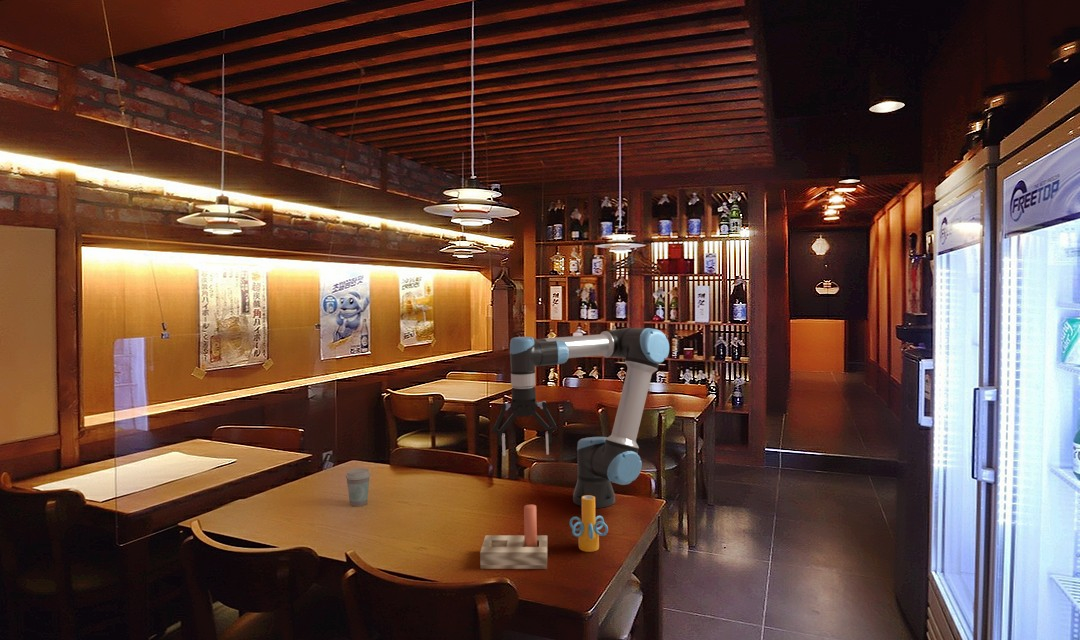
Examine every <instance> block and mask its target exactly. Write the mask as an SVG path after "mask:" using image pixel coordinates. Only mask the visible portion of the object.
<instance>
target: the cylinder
mask: <svg viewBox="0 0 1080 640" xmlns="http://www.w3.org/2000/svg"><path fill="white" fill-rule="evenodd" d="M598 519H600V520H599V521H598ZM604 519H605V518H604V517H603V516H602V515H597V516H596V508H595V497H594V496H591V495H586V496H582V506H581V518H580V517H578V516H572V517H571V518H570V519H569V527H570V528H571V533H572V535H573V536H574V537H576V538H578V550H580V551H582V552H586V553H593V552H596V551H598V550H599V548H600V536H601V537H604V536H606V535H607V534H608V532H609V526H608V524H606V523H605V520H604ZM574 520H577V522H575V523H574V524H573V522H574ZM578 525H579V527H578V528H576V527H577V526H578ZM598 525H599V526H598ZM603 527H604V528H605V529H604V532H600V530H601V529H603ZM577 532H579V533H577Z"/></svg>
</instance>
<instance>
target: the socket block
mask: <svg viewBox="0 0 1080 640" xmlns="http://www.w3.org/2000/svg"><path fill="white" fill-rule="evenodd" d="M484 536H485V537H484V539H483V543H482V546H481V549H480V550H479V554H480V555H479V557H480V559H479V561H480V562H479V563H480V570H481V569H482V570H485V569H489V570H490V569H491V570H496V569H498V570H499V569H500V570H501V569H503V570H507V569H509V570H510V569H513V570H519V569H520V570H547V569H548V553H549V552H548V535H546V534H545V535H543V534H541V535H538V534H537V547H525V540H524V535H518V534H517V535H516V534H515V535H514V534H513V535H508V534H507V535H498V534H497V535H495V534H493V535H491V534H490V535H489V534H488V535H484Z"/></svg>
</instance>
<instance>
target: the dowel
mask: <svg viewBox="0 0 1080 640" xmlns="http://www.w3.org/2000/svg"><path fill="white" fill-rule="evenodd" d="M537 516H538V515H537V505H536V504H525V505H524V506H523V522H524V523H523V526H524V528H523V529H524V530H523V531H524V532H523V533H524V540H525V547H537V535H538V534H537V533H538V531H537V530H538V529H537V527H538V526H537V524H538V523H537Z"/></svg>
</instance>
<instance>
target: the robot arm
mask: <svg viewBox="0 0 1080 640" xmlns="http://www.w3.org/2000/svg"><path fill="white" fill-rule="evenodd" d="M669 353H670V342H669V340H668V338H667V335H665V333H664V332H663V331H661V330H659V329H657V328H650V327H647V328H646V327H645V328H644V327H625V328H619V329H613V330H604V331H601V333H600V334H588V335H572V336H571V335H570V336H561V337H559V336H558V337H545V338H535V339H534V337H532V336H515V337H512V338H511V339H510V343H509V356H510V357H509V358H510V385H511V387H512V388H511V402H510V403H507V402H505V401H502V404H501V410H500V413H499V415H498V417H497V419H496V422H495V424H494V426H493V427H492V430H491V432H492V433H493V434H496V435H497V436H498V437H497V439H498V445H499V446H501V447H502V449H501V450H502V457H506V434H505V433H504V432H505V431H506V429H507V428H508V427H509V426H510V424H511V423H512V422H513V421H514V419H516V417H518V418H523V417H527V418H530V417H531V416H532V417H533V418H534V419H536V422H538V423H539V425H540V426H542V428H543V429H545V430H546V431H545V449H546V450H545V451H546V454H545V455H548V456H549V454H550V447H549V446H550V445H549V444H552V443H553V432H557V431H558V426H557V424H556V422H555V420H554V419H553V416H552V415H551V414H550V411H549V409H548V408H547V402H546V400H542V401H539V402H537V395H536V393H537V392H536V389H537V388H536V387H535V386H536V367H539V366H540V367H542V366H555V365H557V366H558V365H562V364H565V363H567V361H568V360H569V359H574V358H588V357H596V356H602V357H604V358H606V359H607V358H618V359H624V364H625V365H626V367H627V370H626V374H625V379H624V382H623V386H622V391H621V393H620V399H619V402H618V407H617V410H616V415H615V419H614V423H613V427H612V431H611V434H610V435H609V436H608V437H607V436H592V437H590V436H589V437H585V438H581V439H579V440H578V441H577V445H576V446H577V447H576V451H577V481H576V485H575V487H574V490H573V493H572V501H573V503H574V504H575V505H577V506H580V507H582V496H586V495H591V496H594V497H595V509H596V508H597V509H599V508H606V507H611V506H612V505H614V504H615V503H616V495H615V491H614V488H613V485H612V483H613V484H614V483H615V484H617V485H621V486H625V485H629V484H631V483H633V482H634V481H636V479H637V478H638V477H639V476H640V473H641V472H642V467H643V465H642V463H643V461H642V460H641V457H640V455H639V454H638V453H639V449H640V447H639V445H638V443H637V438H638V434H639V430H640V429H639V428H640V425H641V421H642V417H643V413H644V408H645V405H646V401H647V396H648V393H649V387H650V383H651V379H652V375H653V374H654V373H655V372H657V371H658V370H659V365H660V364H661V363H663V362H664V361H665V360H667V358H668V356H669ZM538 407H539V408H540V410H542V411H543V413H544V414H545V415H544V416H546V419H547V420H548V422H549V423H550V425H549V424H548V423H547V422H546V421H545V420H544V419H543V418H542V417H541V416H540V415H539V414H538V412H537V411H536V410H537V408H538ZM509 408H510V409H511V410H512V413H511V414H510V416H509V417H508V418H507V420H506V421H505V422H504V423H503V425H502V426H501V427H500V429H499V426H500V425H501V422H502V420H503V418H504V416H505V413H506V411H508V410H509ZM550 426H551V427H550Z"/></svg>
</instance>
